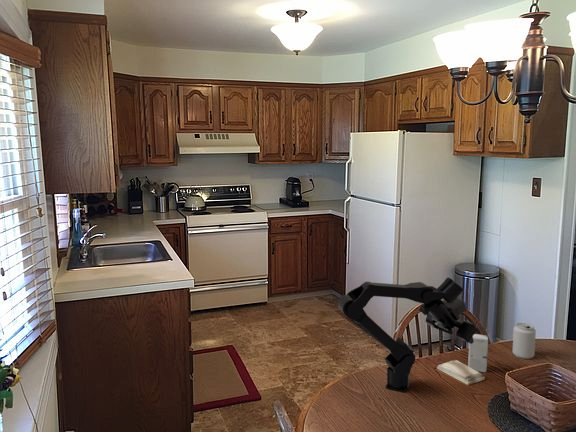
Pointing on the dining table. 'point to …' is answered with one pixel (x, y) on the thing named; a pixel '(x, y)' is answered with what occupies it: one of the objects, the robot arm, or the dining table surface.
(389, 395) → the dining table surface
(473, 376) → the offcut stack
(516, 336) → the can
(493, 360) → the dining table surface
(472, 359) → the skincare box
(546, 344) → the dining table surface
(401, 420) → the dining table surface
